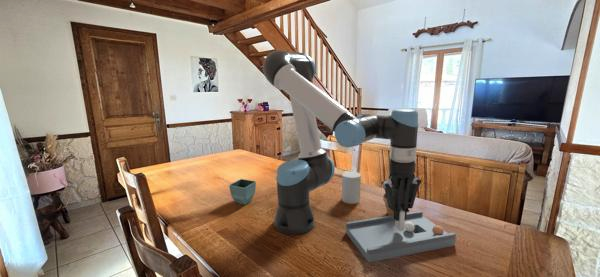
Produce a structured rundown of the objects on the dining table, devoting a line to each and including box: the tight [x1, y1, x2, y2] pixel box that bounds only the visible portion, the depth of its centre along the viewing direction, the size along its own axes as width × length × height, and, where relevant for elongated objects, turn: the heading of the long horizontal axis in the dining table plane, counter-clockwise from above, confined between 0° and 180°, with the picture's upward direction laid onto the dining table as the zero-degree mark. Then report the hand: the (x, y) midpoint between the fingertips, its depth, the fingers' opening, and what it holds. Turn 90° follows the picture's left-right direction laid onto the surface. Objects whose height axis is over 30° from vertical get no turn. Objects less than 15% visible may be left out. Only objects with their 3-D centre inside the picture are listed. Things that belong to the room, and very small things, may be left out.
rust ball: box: [432, 224, 445, 236], centre depth 82 cm, size 3×3×3 cm
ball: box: [404, 222, 415, 232], centre depth 84 cm, size 3×3×3 cm
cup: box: [341, 171, 362, 205], centre depth 114 cm, size 8×8×12 cm
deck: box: [345, 210, 457, 263], centre depth 84 cm, size 30×16×4 cm, turn 103°
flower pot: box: [228, 178, 257, 205], centre depth 115 cm, size 9×9×9 cm
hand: (399, 228), depth 84 cm, fingers closed
